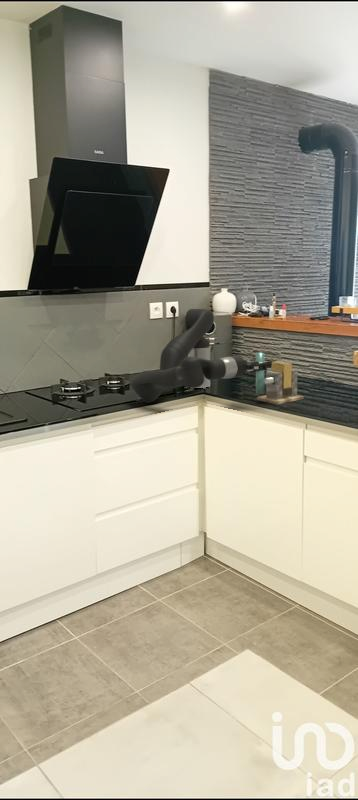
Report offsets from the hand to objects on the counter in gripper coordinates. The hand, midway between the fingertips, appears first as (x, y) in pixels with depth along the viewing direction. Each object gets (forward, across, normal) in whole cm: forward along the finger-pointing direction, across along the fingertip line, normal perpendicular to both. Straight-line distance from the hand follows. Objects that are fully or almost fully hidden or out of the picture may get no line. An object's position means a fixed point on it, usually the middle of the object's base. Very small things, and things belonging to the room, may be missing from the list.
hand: (263, 363), depth 229 cm
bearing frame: (+10, 0, -15) cm, 18 cm away
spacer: (+10, 0, -10) cm, 14 cm away
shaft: (+6, 0, -11) cm, 13 cm away
